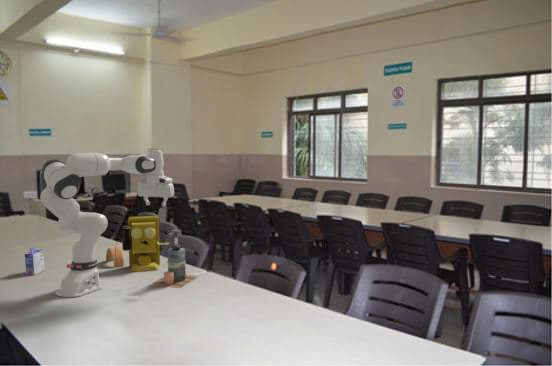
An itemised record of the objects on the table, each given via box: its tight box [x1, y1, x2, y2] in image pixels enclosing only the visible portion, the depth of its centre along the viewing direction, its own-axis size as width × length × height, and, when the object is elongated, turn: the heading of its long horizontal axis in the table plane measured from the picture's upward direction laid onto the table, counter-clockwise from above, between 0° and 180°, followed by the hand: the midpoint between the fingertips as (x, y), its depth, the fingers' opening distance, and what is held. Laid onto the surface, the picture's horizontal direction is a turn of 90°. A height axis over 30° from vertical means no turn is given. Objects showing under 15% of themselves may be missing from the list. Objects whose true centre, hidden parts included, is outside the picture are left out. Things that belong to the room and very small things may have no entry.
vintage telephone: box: [115, 215, 170, 273], centre depth 268 cm, size 31×14×30 cm, turn 105°
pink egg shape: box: [163, 270, 174, 285], centre depth 233 cm, size 5×5×6 cm
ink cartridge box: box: [24, 246, 45, 276], centre depth 259 cm, size 10×6×14 cm, turn 174°
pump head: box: [166, 229, 182, 246], centre depth 237 cm, size 10×4×8 cm, turn 164°
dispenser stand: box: [149, 244, 200, 289], centre depth 239 cm, size 22×18×20 cm
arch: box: [105, 246, 125, 269], centre depth 279 cm, size 6×20×10 cm, turn 33°
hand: (155, 205), depth 241 cm, fingers open, 8 cm apart
